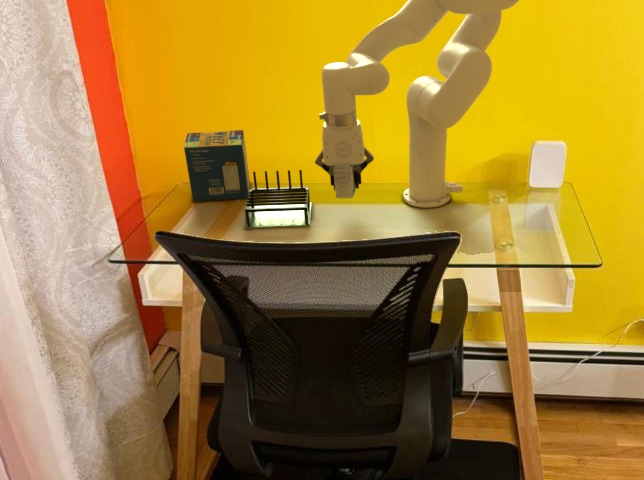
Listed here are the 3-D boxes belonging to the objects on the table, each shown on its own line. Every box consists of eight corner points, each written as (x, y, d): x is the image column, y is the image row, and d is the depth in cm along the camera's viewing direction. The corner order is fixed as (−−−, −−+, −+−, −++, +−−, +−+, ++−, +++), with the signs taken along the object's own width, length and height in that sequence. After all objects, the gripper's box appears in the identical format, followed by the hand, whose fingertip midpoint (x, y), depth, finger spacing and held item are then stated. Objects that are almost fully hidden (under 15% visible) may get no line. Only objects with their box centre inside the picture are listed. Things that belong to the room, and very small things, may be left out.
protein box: (195, 186, 222) (186, 132, 212) (250, 182, 222) (243, 129, 213) (192, 202, 213) (182, 147, 204) (249, 198, 214) (242, 144, 204)
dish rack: (311, 204, 210) (309, 168, 204) (309, 226, 200) (307, 189, 193) (250, 206, 210) (245, 170, 204) (245, 229, 200) (240, 191, 194)
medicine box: (353, 199, 198) (350, 166, 192) (335, 198, 198) (332, 166, 193) (357, 185, 204) (355, 153, 199) (340, 185, 205) (338, 153, 199)
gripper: (305, 125, 187) (312, 195, 198) (377, 120, 186) (380, 191, 197) (306, 114, 192) (313, 182, 204) (375, 109, 192) (379, 178, 203)
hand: (346, 186), depth 200 cm, fingers closed on medicine box, 5 cm apart
